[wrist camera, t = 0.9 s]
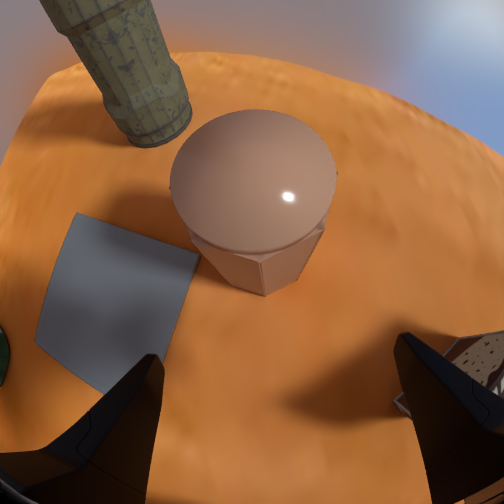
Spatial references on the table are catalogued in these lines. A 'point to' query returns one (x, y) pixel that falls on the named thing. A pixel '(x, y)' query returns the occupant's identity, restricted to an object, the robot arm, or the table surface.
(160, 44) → the thermos
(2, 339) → the coffee jar
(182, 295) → the slate mat
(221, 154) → the brown piece
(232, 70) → the table surface
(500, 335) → the food container
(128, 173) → the table surface
